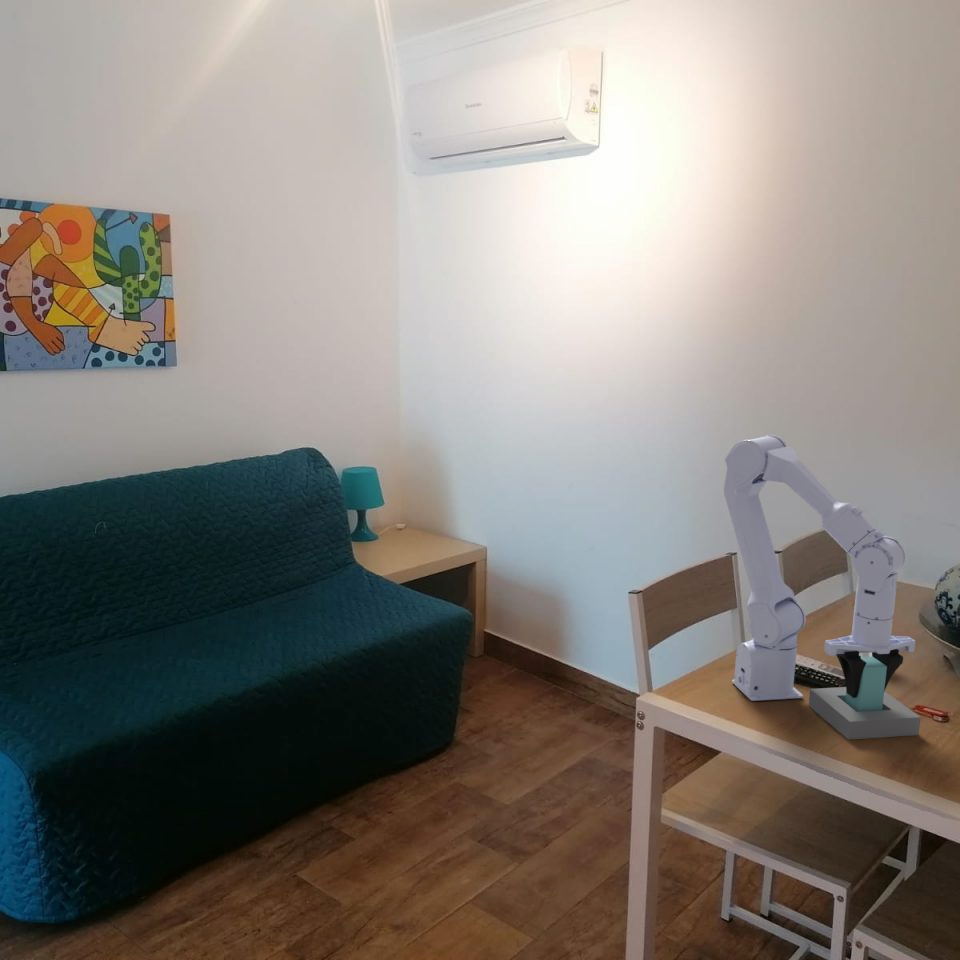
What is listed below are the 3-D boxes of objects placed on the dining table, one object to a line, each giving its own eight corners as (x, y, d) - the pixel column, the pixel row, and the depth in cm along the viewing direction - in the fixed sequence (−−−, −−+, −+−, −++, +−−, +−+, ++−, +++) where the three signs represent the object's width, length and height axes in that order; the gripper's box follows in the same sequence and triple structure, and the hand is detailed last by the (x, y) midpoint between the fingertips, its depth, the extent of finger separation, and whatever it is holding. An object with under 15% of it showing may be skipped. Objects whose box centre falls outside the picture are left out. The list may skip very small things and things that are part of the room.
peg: (858, 714, 147) (863, 667, 146) (844, 703, 151) (849, 657, 150) (881, 713, 148) (887, 666, 146) (867, 702, 152) (872, 656, 150)
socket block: (847, 739, 143) (849, 721, 143) (808, 705, 155) (810, 688, 154) (918, 734, 145) (920, 717, 145) (874, 701, 157) (876, 685, 156)
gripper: (844, 624, 141) (836, 707, 144) (931, 621, 144) (920, 702, 147) (820, 609, 148) (813, 688, 151) (903, 606, 151) (894, 684, 153)
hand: (864, 694), depth 149 cm, fingers closed on peg, 4 cm apart
